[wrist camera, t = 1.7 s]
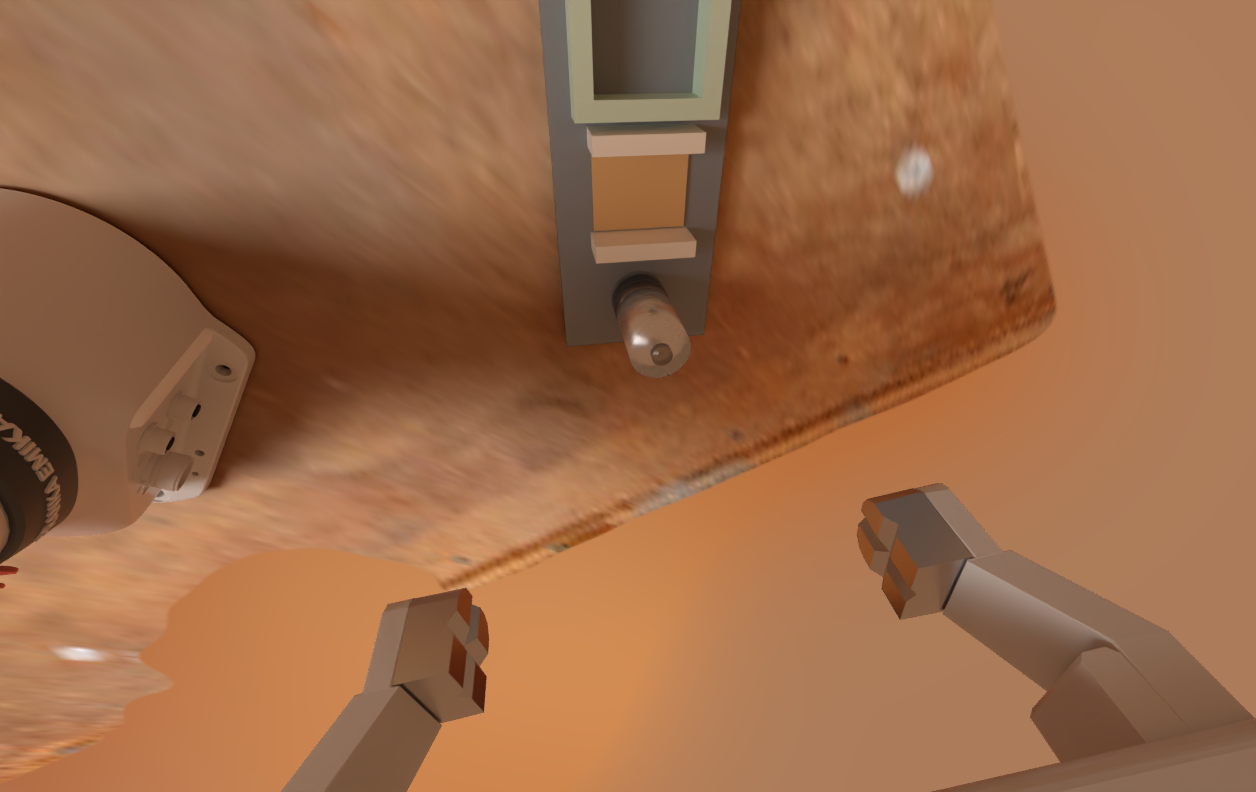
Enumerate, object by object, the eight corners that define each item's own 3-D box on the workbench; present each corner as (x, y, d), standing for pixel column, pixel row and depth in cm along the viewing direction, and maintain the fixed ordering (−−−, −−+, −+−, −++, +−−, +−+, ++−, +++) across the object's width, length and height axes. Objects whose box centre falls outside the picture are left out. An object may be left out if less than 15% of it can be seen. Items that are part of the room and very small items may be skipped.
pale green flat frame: (708, 113, 28) (719, 119, 27) (571, 116, 27) (574, 123, 26) (724, -72, 24) (739, -76, 22) (560, -76, 23) (564, -82, 21)
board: (700, 327, 38) (703, 334, 37) (565, 339, 37) (566, 346, 36) (741, -69, 25) (749, -71, 24) (532, -74, 23) (533, -77, 23)
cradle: (684, 241, 33) (695, 257, 31) (591, 247, 32) (596, 263, 30) (693, 123, 29) (706, 132, 27) (586, 126, 28) (592, 136, 26)
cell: (649, 326, 36) (675, 389, 30) (602, 311, 35) (620, 374, 29) (672, 281, 34) (705, 339, 29) (624, 263, 33) (647, 320, 27)
